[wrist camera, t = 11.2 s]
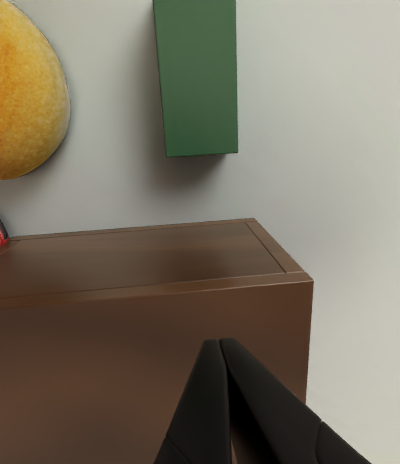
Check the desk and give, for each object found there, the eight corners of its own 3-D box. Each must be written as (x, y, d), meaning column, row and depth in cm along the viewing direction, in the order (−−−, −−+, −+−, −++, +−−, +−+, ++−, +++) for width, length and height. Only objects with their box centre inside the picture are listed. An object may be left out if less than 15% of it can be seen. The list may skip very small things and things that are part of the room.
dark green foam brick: (228, 149, 18) (238, 153, 16) (166, 153, 18) (166, 157, 15) (225, -4, 16) (235, -28, 13) (153, -2, 16) (150, -26, 13)
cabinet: (254, 424, 25) (295, 567, 17) (66, 447, 24) (13, 610, 16) (254, 217, 20) (314, 280, 11) (12, 236, 19) (-111, 319, 10)
